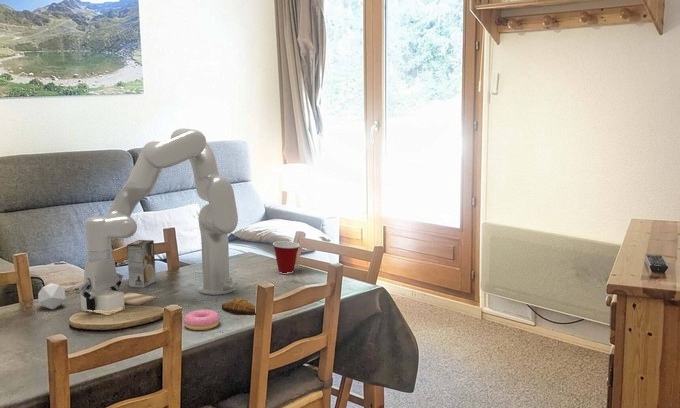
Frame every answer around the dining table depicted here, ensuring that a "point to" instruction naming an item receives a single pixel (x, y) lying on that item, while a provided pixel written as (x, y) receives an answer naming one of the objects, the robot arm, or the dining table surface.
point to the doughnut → (201, 319)
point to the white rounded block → (105, 300)
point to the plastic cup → (286, 255)
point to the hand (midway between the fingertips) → (102, 305)
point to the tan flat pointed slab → (137, 298)
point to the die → (51, 296)
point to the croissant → (239, 306)
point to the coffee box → (141, 263)
